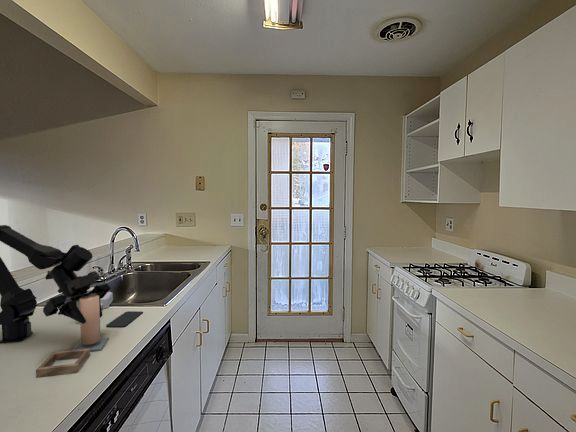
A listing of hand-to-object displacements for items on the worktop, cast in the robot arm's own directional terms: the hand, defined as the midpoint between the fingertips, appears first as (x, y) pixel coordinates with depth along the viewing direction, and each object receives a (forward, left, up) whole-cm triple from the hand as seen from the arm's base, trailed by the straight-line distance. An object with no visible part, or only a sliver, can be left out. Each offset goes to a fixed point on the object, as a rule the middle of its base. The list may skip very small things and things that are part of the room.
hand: (93, 319), depth 99 cm
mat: (-1, +1, -9) cm, 9 cm away
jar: (-1, +1, -7) cm, 7 cm away
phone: (+4, +22, -9) cm, 24 cm away
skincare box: (-10, +24, -9) cm, 27 cm away
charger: (-11, +38, -9) cm, 41 cm away
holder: (-4, -10, -9) cm, 14 cm away
